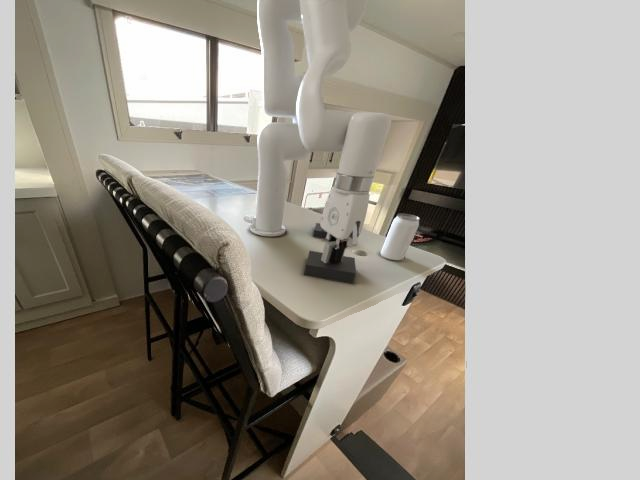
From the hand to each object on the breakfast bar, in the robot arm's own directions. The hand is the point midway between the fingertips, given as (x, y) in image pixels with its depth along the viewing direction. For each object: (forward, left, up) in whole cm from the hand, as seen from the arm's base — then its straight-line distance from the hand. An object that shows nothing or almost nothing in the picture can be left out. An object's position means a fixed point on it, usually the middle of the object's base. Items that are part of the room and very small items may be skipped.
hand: (331, 259), depth 65 cm
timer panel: (0, 0, -3) cm, 3 cm away
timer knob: (0, 0, 0) cm, 0 cm away
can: (+18, +17, -4) cm, 25 cm away
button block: (-1, +28, -3) cm, 28 cm away
